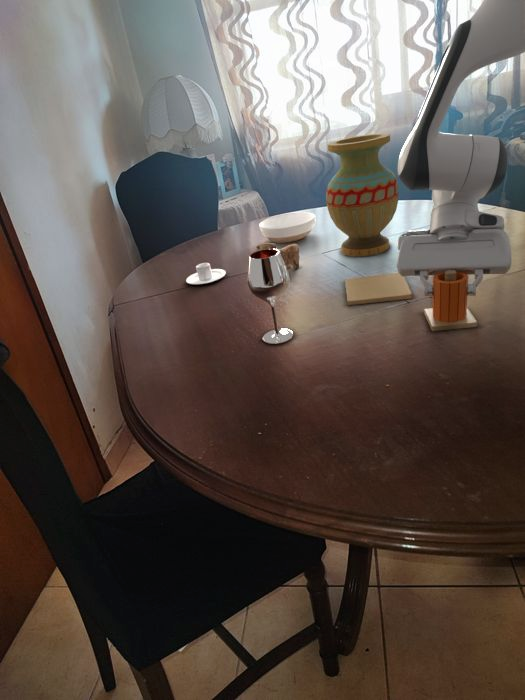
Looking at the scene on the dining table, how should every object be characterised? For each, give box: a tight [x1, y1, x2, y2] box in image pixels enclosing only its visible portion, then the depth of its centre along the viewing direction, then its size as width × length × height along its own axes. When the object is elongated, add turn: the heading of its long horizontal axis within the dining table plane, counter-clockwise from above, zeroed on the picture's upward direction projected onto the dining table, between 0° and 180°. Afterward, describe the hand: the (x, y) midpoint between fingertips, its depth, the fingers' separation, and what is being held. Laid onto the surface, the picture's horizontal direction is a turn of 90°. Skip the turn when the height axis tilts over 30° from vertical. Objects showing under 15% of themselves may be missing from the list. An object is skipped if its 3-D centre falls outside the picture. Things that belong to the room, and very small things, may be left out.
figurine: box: [256, 242, 301, 270], centre depth 128 cm, size 7×16×10 cm, turn 139°
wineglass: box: [247, 248, 294, 345], centre depth 92 cm, size 8×8×18 cm
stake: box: [423, 270, 478, 332], centre depth 88 cm, size 8×8×10 cm
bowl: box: [258, 211, 317, 244], centre depth 159 cm, size 20×20×6 cm
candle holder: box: [185, 262, 227, 285], centre depth 136 cm, size 12×12×4 cm
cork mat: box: [344, 272, 413, 306], centre depth 109 cm, size 14×14×1 cm
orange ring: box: [432, 271, 469, 322], centre depth 88 cm, size 6×6×8 cm
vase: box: [325, 132, 399, 257], centre depth 130 cm, size 20×20×30 cm
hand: (449, 294), depth 87 cm, fingers closed on orange ring, 6 cm apart
